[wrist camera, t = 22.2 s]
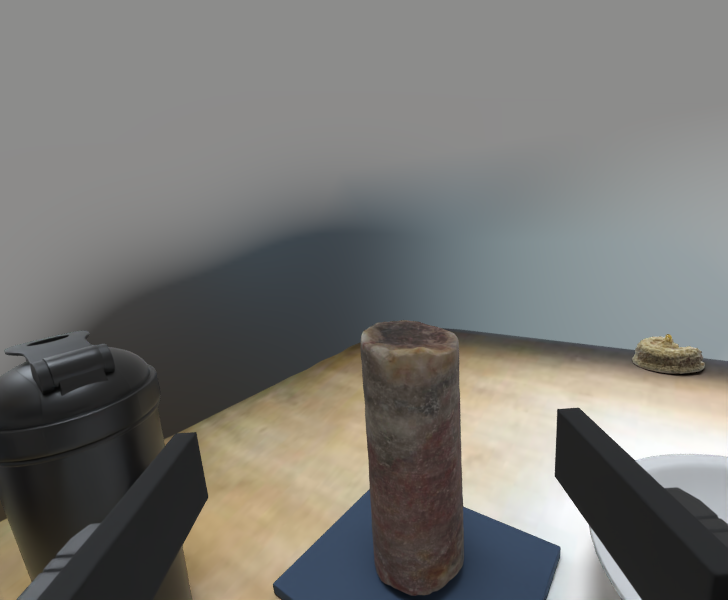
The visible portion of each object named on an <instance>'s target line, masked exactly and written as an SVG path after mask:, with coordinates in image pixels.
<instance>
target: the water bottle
mask: <svg viewBox="0 0 728 600" xmlns="http://www.w3.org/2000/svg"><path fill="white" fill-rule="evenodd" d="M88 336H89V332H88V331H75V332H70V333H66V334H61V335H57V336H53V337H48V338H44V339H40V340H36V341H32V342H28V343H24V344H20V345H16V346H12V347H10V348H7V349H5V354H7V355H16V356H24V357H25V358H26V362H25V363H23V364H21V365H19V366H16V367H15V368H13V369H12V370H10V371H8V372H7V373H5V374H3V375H2V376H1V377H0V500H1V503H2V505H3V508H4V510H5V513H6V516H7V518H8V521H9V524H10V526H11V529H12V531H13V534H14V537H15V539H16V542H17V545H18V547H19V550H20V552H21V555H22V558H23V560H24V563H25V566H26V568H27V571H28V573H29V576H30V579H31V581H32V582H33V580H34V579H35V578H36V577H37V576H38V575H39V574H40V573H42V572H43V569H44V568H45V567H46V566H47V565H48V564H49V562H50V561H51V560H52V559H55V557H56V555H57V553H58V552H59V551H60V550H61V549H62V548H63V547H64V546H65V544H66V543H67V542H68V541H69V540H70V539H71V538H72V537H73V536H75V535H76V534H77V533H79V532H80V531H81V530H83V529H84V528H85V527H87V526H88V525H89V524H94V523H101V522H102V521H103V520H104V519H105V517H106V516H107V515H108V514H109V513H110V511H111V510H112V509H113V508H114V507H115V505H116V504H117V503H118V502H119V501H120V499H121V498H122V497H123V496H124V495H125V493H126V492H127V491H128V490H129V489H130V488H131V486H132V485H133V484H134V483H135V482H136V480H137V479H138V478H139V477H140V476H141V474H142V473H143V472H144V471H145V470H146V468H147V467H148V466H149V465H150V464H151V462H152V461H153V460H154V459H155V458H156V456H157V455H158V454H159V453H160V452H161V450H162V449H163V448H164V447H165V444H164V438H163V433H162V428H161V422H160V416H159V411H158V405H159V403H160V387H159V382H158V378H157V373H156V371H155V369H154V368H153V367H152V366H150V365H147V364H146V362H145V361H144V360H143V359H142V358H141V357H139V356H138V355H136V354H134V353H132V352H129V351H126V350H123V349H118V348H111V347H108V346H107V345H106V344H100V345H97V346H96V345H93V346H92V345H91V344H90V343H89V342H88V341H86V338H87V337H88ZM153 600H192V596H191V590H190V585H189V579H188V573H187V568H186V562H185V557H184V551H183V545H182V547H181V549H180V550H179V552H178V554H177V556H176V558H175V560H174V562H173V563H172V565H171V567H170V569H169V571H168V573H167V575H166V576H165V578H164V580H163V582H162V584H161V586H160V587H159V589H158V591H157V593H156V595H155V597H154V599H153Z"/></svg>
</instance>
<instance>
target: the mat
mask: <svg viewBox="0 0 728 600" xmlns="http://www.w3.org/2000/svg"><path fill="white" fill-rule="evenodd" d="M463 528H464V561H463V565H462V568H461V569H460V570H459V572H458V574H457V575H456V576H455V577H454V578H453V579H451V580H450V581H449V582H448V583H447V584H446V585H445V586H444V587H443V588H441V589H440V590H438V591H434V592H432V593H430V594H428V595H416V596H411V595H409V594H406V593H404V592H402V591H400V590H398V589H395V588H393V587H392V586H391V585H387V584H385V583H384V582H382V581H381V579H380V577H379V576H378V574H377V571H376V567H375V561H374V546H373V533H372V517H371V500H370V489H369V490H368V491H367V492H366V493H365V494H364V495H363V496H362V497H361V498H360V499H359V500H358V501H357V502H356V503H355V504H354V505H353V506H352V507H351V508H350V509H349V510H348V511H347V512H346V513H345V514H344V515H343V516H342V517H341V518H340V519H339V520H338V521H337V522H336V523H335V524H333V525H332V526H331V527H330V528H329V529H328V530H327V531H326V532H325V533H324V534H323V535H322V536H321V537H320V538H319V539H318V540H317V541H316V542H315V543H314V544H313V545H312V546H311V547H310V548H309V549H308V550H307V551H306V552H305V553H304V554H303V555H302V556H301V557H300V558H299V559H298V560H297V561H296V562H295V563H294V564H293V565H292V566H291V567H290V568H289V569H288V570H287V571H286V572H284V573H283V574H282V575H281V576H280V577H279V578H278V579H277V580H276V581H275V582H274V583H273V587H274V593H275V594H276V595H277V596H279V597H280V598H281V599H282V600H546V598H547V595H548V592H549V589H550V586H551V582H552V579H553V576H554V573H555V570H556V567H557V564H558V561H559V558H560V547H559V546H557V545H555V544H552V543H550V542H547V541H545V540H543V539H540V538H538V537H535V536H533V535H531V534H528V533H526V532H523V531H521V530H518V529H516V528H514V527H511V526H509V525H506V524H504V523H502V522H499V521H497V520H494V519H492V518H489V517H487V516H485V515H482V514H480V513H477V512H475V511H473V510H470V509H468V508H465V507H463Z"/></svg>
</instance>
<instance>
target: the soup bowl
mask: <svg viewBox="0 0 728 600" xmlns="http://www.w3.org/2000/svg"><path fill="white" fill-rule="evenodd" d="M635 461H636V462H637V463H638V464H639V465H640V466H641V467H642V468H643V469H645V470H646V471H647V472H648V473H649V474H650V475H651V476H652V477H653V478H654V479H655V480H656V481H657V482H658V483H659V484H660V485H662V486H663V487H664V488H674V487H678V488H680V489H682V490H683V491H685V492H687V493H689V494H691V495H692V496H694V497H696V498H698V499H699V500H701V501H702V502H703V503H704V504H705V505H706V506H708V507H709V508H710V509H711V510H712V511H713V512H714V513H716V514H717V515H718V518H719V519H720V518H721V519H722V520H724V521H725V522H726V523H727V524H728V457H725V456H716V455H703V454H671V455H660V456H653V457H647V458H643V459H639V460H635ZM589 527H590V525H589ZM590 533H591V538H592V541H593V544H594V548H595V551H596V554H597V556H598V558H599V560H600V563H601V565H602V567H603V569H604V571H605V573H606V575H607V576H608V578H609V580H610V582H611V584H612V585H613V587H614V588H615V590H616V591H617V593H618V594H619V596H620V597H621V599H622V600H642V599H641V598H640V597H639V595H638V594H637V592H636V591H635V589H634V588H633V587H632V585H631V584H630V582H629V581H628V579H627V578H626V577H625V575H624V574H623V572H622V571H621V570H620V568H619V567H618V565H617V564H616V562H615V561H614V560H613V558H612V557H611V555H610V554H609V552H608V551H607V550H606V548H605V547H604V545H603V544H602V542H601V541H600V540H599V538H598V537H597V535H596V534H595V533H594V531H593V530H592V528H591V527H590Z"/></svg>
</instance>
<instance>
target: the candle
mask: <svg viewBox="0 0 728 600" xmlns="http://www.w3.org/2000/svg"><path fill="white" fill-rule="evenodd" d="M361 360H362V374H363V389H364V398H365V418H366V434H367V448H368V458H369V481H370V500H371V517H372V533H373V546H374V561H375V567H376V571H377V574H378V576H379V577H380V579H381V581H382V582H384V583H385V584H387V585H391V586H392V587H393V588H395V589H398V590H400V591H402V592H404V593H406V594H409V595H411V596H416V595H428V594H430V593H432V592H434V591H438V590H440V589H441V588H443V587H444V586H445V585H446V584H447V583H448V582H449V581H450V580H451V579H453V578H454V577H455V576H456V575H457V574H458V572H459V570H460V569H461V568H462V565H463V561H464V528H463V496H462V467H461V427H460V390H459V343H458V338H457V337H456V335H455V334H454V333H452V332H449V331H447V330H443V329H442V328H438V327H435V326H430V325H426V324H423V323H421V322H416V321H407V320H403V321H402V320H401V321H390V322H382V323H376V324H375V325H374V326H371V327H370V328H368V329H367V330H364V331H363V333H362V336H361Z"/></svg>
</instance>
